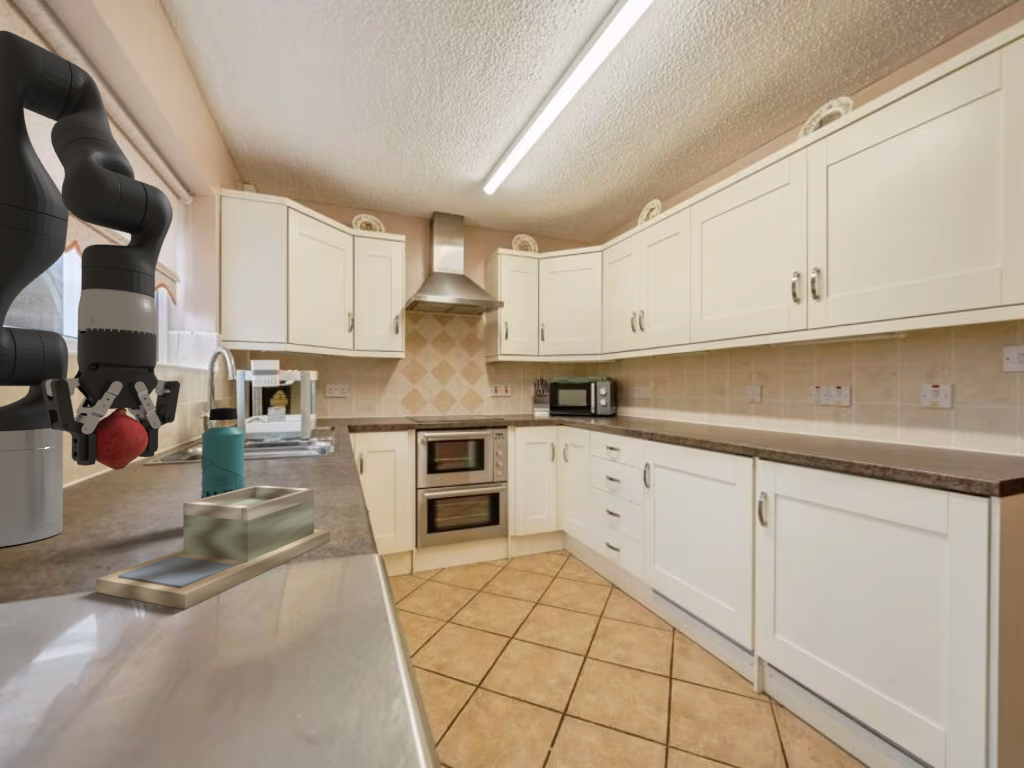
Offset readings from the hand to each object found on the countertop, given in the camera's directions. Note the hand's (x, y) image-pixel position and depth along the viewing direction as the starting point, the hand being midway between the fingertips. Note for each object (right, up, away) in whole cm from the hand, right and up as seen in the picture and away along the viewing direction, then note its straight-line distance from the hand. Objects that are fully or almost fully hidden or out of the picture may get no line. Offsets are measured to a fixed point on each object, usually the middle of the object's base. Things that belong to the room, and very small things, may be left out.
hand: (117, 460), depth 55 cm
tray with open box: (+14, -14, +1) cm, 19 cm away
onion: (0, -1, 0) cm, 1 cm away
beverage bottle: (+1, -15, +20) cm, 24 cm away
